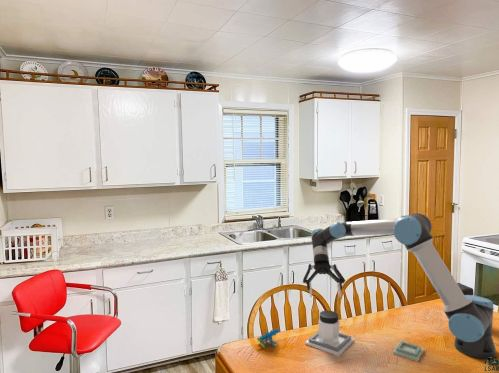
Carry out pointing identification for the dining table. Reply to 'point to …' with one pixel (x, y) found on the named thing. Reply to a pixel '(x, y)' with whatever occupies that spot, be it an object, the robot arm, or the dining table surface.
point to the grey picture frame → (334, 349)
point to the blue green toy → (268, 337)
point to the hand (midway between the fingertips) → (325, 296)
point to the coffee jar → (466, 289)
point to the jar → (328, 327)
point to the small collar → (408, 350)
